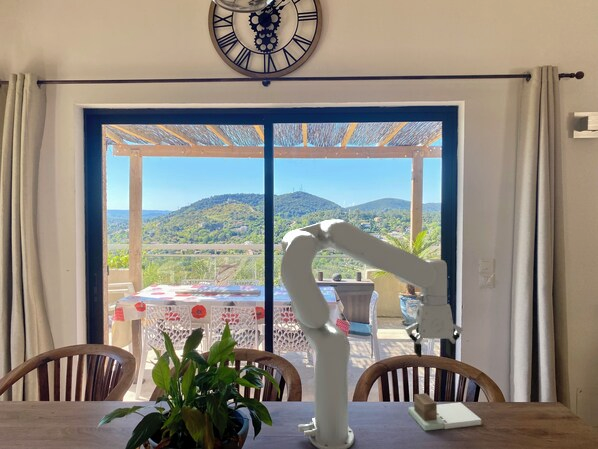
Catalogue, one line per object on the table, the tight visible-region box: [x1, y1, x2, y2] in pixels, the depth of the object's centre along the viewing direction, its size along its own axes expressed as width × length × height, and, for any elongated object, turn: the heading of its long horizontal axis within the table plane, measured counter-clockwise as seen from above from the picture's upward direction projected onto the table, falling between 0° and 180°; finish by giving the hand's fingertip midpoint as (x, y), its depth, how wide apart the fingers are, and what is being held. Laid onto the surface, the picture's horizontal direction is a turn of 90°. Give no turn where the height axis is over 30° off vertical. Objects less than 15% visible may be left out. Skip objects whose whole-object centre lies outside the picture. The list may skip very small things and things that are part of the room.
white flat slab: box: [437, 402, 482, 430], centre depth 106 cm, size 12×10×2 cm
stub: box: [407, 393, 445, 432], centre depth 105 cm, size 6×10×6 cm, turn 10°
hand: (433, 355), depth 105 cm, fingers open, 9 cm apart
